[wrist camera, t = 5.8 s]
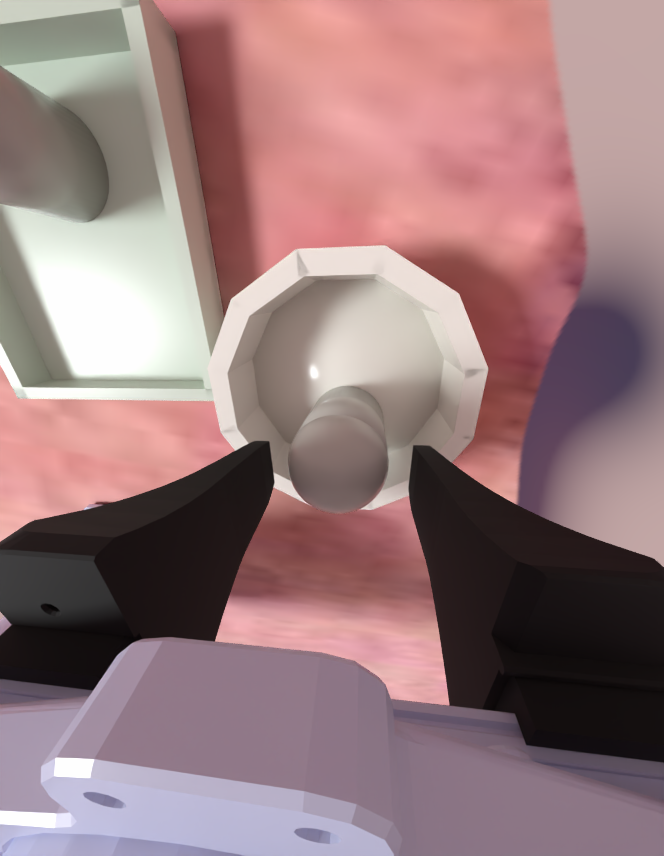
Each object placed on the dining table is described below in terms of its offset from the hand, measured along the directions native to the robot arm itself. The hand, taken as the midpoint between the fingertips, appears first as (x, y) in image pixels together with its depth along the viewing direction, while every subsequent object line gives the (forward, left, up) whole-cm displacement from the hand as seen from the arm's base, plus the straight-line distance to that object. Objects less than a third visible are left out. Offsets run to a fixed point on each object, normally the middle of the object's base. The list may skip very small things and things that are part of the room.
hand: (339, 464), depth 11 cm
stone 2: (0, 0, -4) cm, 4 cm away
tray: (+8, +11, -5) cm, 15 cm away
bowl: (+2, 0, -5) cm, 5 cm away
